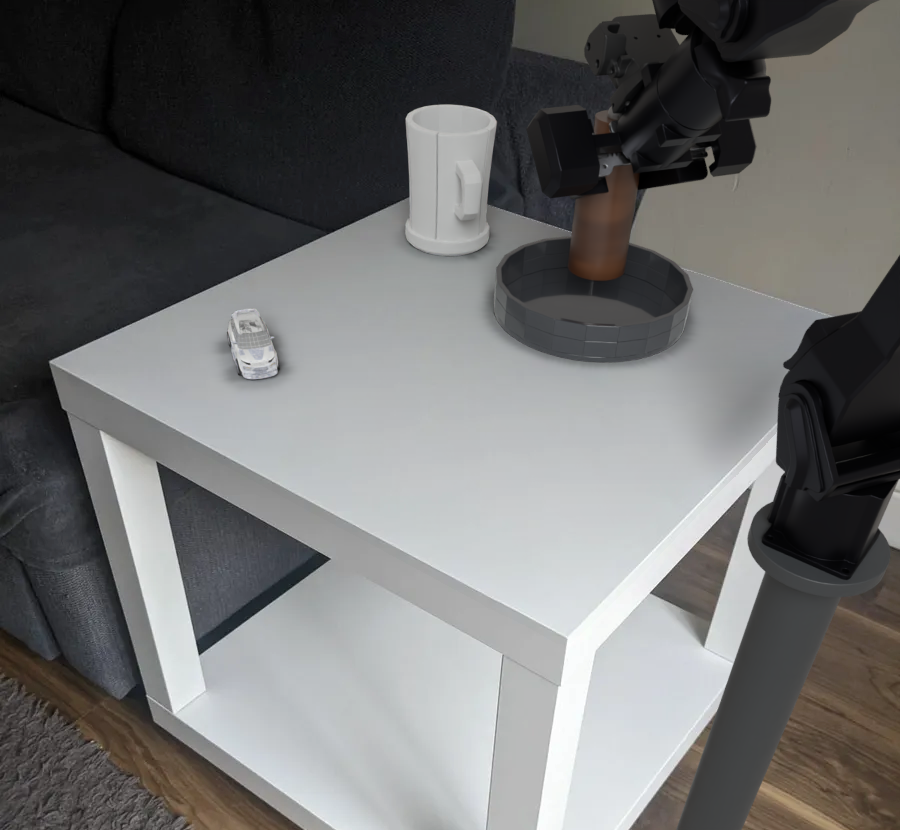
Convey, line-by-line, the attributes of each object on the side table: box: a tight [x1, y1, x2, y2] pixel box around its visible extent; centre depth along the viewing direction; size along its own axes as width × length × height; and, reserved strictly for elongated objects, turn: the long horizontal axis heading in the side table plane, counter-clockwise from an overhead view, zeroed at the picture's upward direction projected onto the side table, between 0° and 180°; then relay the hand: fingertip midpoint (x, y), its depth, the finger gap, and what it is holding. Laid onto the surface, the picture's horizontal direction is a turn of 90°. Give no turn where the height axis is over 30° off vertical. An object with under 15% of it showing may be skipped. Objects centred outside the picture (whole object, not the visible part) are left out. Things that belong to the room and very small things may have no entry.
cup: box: [404, 104, 498, 257], centre depth 99 cm, size 10×9×12 cm
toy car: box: [226, 307, 281, 380], centre depth 84 cm, size 4×8×3 cm, turn 18°
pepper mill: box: [568, 106, 640, 281], centre depth 85 cm, size 5×5×14 cm
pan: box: [493, 235, 694, 363], centre depth 92 cm, size 18×18×4 cm
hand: (598, 189), depth 87 cm, fingers closed on pepper mill, 5 cm apart
